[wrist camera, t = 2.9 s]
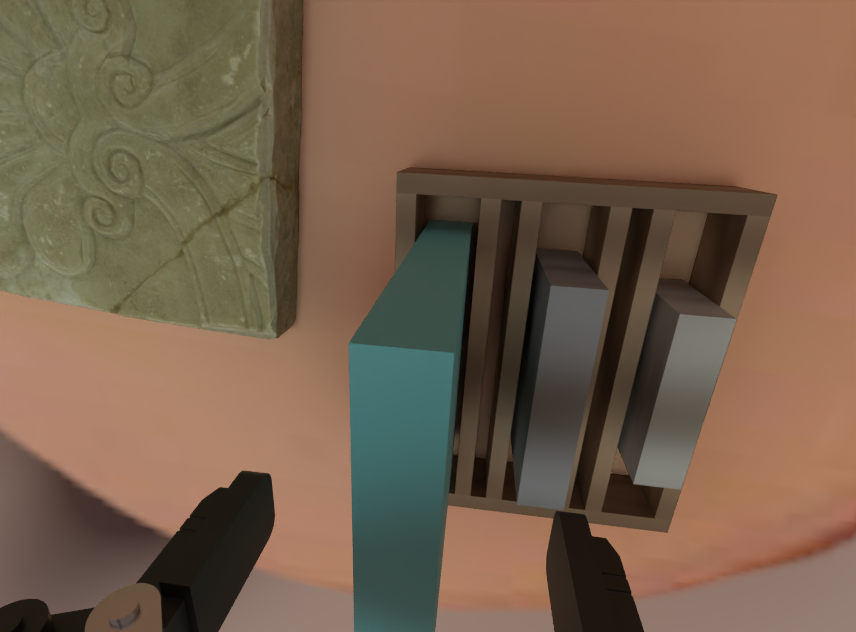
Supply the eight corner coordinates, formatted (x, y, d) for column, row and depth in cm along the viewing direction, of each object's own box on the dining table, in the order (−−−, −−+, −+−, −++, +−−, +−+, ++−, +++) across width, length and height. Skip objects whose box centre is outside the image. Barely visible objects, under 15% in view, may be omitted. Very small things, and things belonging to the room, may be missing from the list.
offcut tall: (533, 247, 22) (550, 285, 16) (576, 250, 21) (609, 290, 16) (509, 423, 25) (516, 504, 20) (546, 427, 25) (563, 510, 19)
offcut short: (637, 276, 21) (679, 314, 17) (682, 279, 21) (736, 318, 17) (605, 418, 24) (633, 484, 20) (643, 422, 24) (680, 489, 20)
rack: (408, 167, 21) (396, 172, 18) (735, 186, 19) (777, 194, 17) (399, 460, 27) (390, 497, 24) (647, 489, 26) (667, 532, 23)
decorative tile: (298, 326, 25) (270, 355, 22) (-40, 258, 26) (-117, 276, 23) (323, -100, 18) (286, -154, 15) (-144, -172, 19) (-278, -238, 16)
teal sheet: (430, 219, 22) (349, 342, 9) (472, 222, 21) (453, 353, 8) (419, 429, 26) (356, 720, 13) (454, 433, 26) (424, 731, 13)
